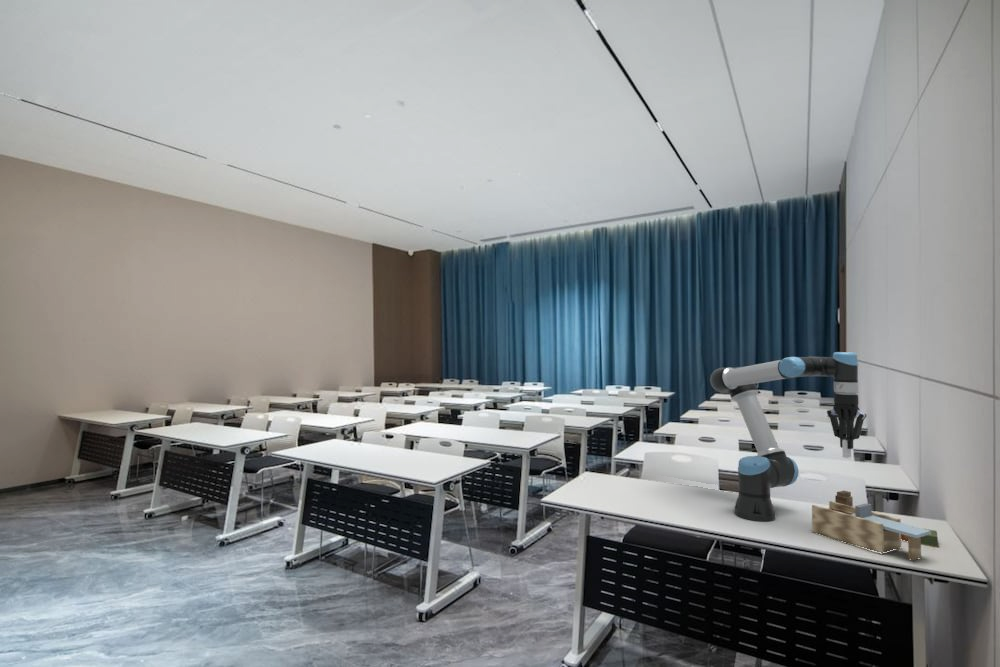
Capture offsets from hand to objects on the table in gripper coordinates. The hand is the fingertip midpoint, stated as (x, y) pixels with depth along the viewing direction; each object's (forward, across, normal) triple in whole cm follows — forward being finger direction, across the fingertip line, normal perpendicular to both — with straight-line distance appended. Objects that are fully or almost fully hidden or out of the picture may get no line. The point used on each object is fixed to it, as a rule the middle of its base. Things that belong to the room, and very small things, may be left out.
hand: (846, 457), depth 186 cm
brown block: (+28, -5, +6) cm, 29 cm away
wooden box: (+28, +8, -4) cm, 30 cm away
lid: (+20, +14, -3) cm, 25 cm away
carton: (+29, +12, +15) cm, 35 cm away
